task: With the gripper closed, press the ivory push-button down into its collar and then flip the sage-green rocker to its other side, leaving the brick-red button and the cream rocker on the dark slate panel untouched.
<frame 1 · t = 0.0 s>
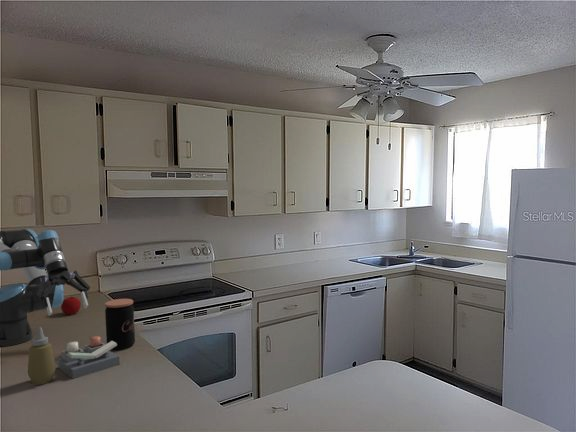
hand: (69, 310, 175), 15 cm above the countertop, tool tilted 35°, fingers open, 13 cm apart
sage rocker: (81, 356, 152), point 5 cm above the countertop, hinge at -18.0°
coffee jar: (121, 346, 177), on the countertop
panel: (89, 365, 157), on the countertop
ivory button: (72, 348, 156), point 7 cm above the countertop, slide at 0.0 cm
apple: (71, 314, 225), on the countertop
cream rocker: (104, 350, 158), point 5 cm above the countertop, hinge at 18.0°
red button: (95, 342, 162), point 7 cm above the countertop, slide at 0.0 cm
squeeze bottle: (42, 381, 145), on the countertop
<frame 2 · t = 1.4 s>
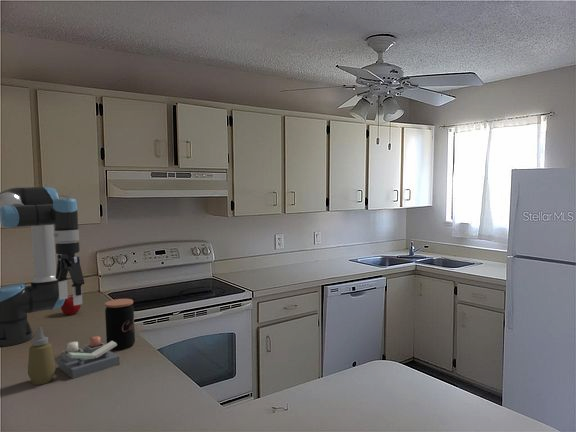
hand: (70, 301, 156), 23 cm above the countertop, tool pointing down, fingers open, 13 cm apart
nothing on the countertop moved.
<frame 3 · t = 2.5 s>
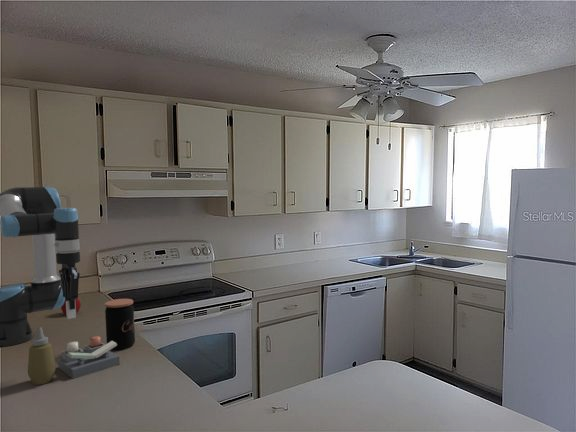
hand: (71, 317, 155), 18 cm above the countertop, tool pointing down, fingers closed
nothing on the countertop moved.
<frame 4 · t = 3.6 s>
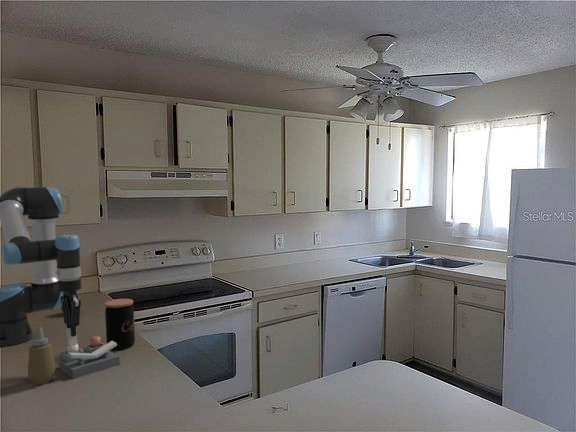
hand: (72, 344, 156), 8 cm above the countertop, tool pointing down, fingers closed
ivory button: (72, 349, 156), point 6 cm above the countertop, slide at 0.6 cm, touching gripper
everything else where it was.
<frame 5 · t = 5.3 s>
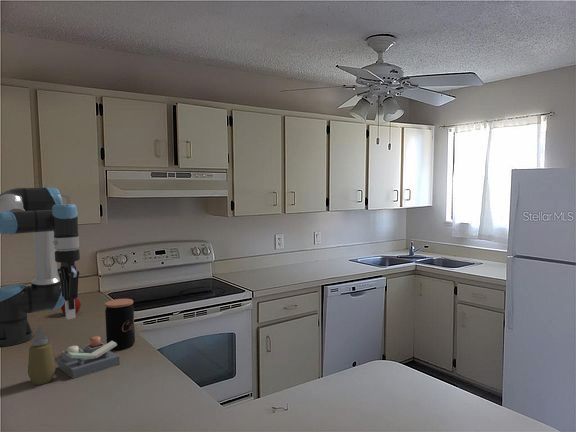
hand: (70, 318, 150), 19 cm above the countertop, tool pointing down, fingers closed
ivory button: (73, 352, 156), point 5 cm above the countertop, slide at 1.5 cm
everything else where it was.
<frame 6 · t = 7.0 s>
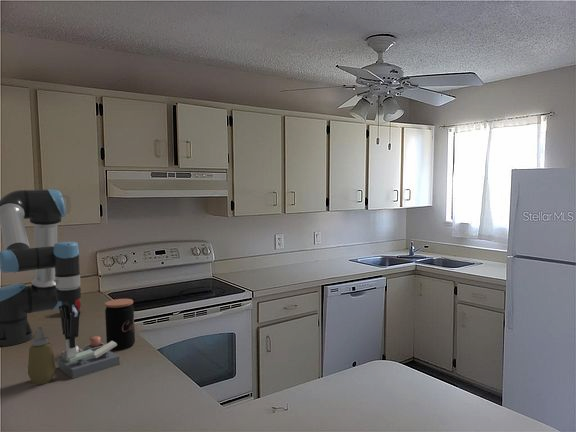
hand: (71, 356, 149), 6 cm above the countertop, tool pointing down, fingers closed
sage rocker: (80, 356, 151), point 5 cm above the countertop, hinge at 3.2°, touching gripper
everything else where it was.
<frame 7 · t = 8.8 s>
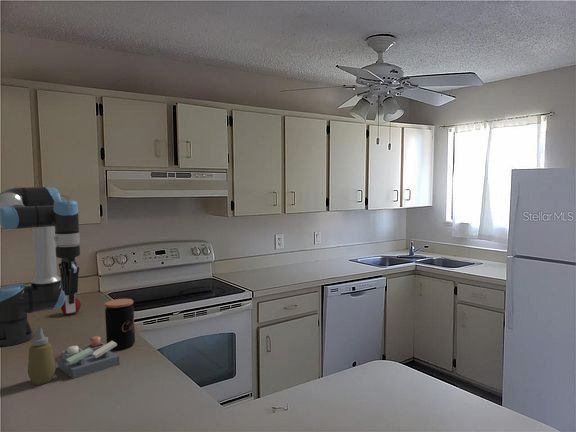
hand: (70, 312, 153), 20 cm above the countertop, tool pointing down, fingers closed
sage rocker: (80, 356, 151), point 5 cm above the countertop, hinge at 13.5°
everything else where it was.
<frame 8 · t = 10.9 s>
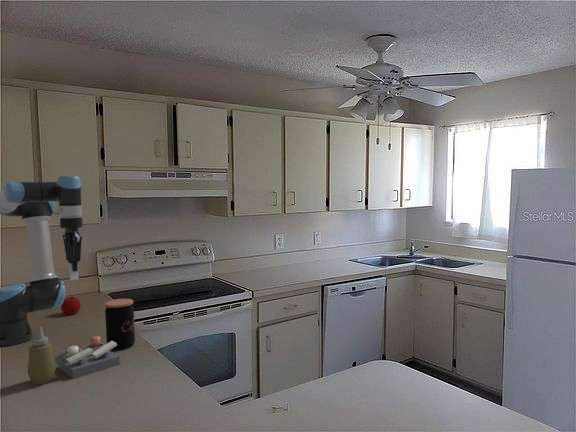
hand: (74, 279, 165), 29 cm above the countertop, tool pointing down, fingers closed
nothing on the countertop moved.
at the end: ivory button slide at 1.5 cm; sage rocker at +14° (first picture: -18°); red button slide at 0.0 cm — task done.
